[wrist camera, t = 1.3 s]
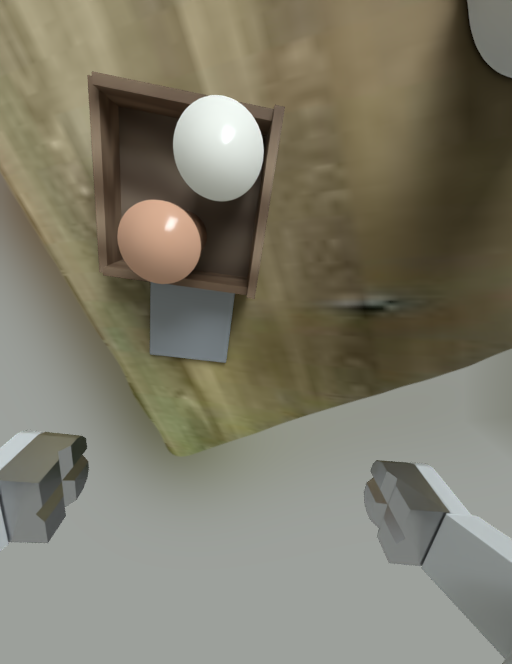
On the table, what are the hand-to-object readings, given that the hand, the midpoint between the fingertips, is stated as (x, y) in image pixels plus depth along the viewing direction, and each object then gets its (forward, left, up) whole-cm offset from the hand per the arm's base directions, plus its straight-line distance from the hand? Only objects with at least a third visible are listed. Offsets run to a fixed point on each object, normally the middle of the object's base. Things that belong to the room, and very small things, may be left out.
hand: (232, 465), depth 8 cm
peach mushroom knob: (-3, -7, -28) cm, 29 cm away
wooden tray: (-7, -6, -28) cm, 30 cm away
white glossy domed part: (-10, -3, -28) cm, 30 cm away
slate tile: (+7, -5, -28) cm, 30 cm away
